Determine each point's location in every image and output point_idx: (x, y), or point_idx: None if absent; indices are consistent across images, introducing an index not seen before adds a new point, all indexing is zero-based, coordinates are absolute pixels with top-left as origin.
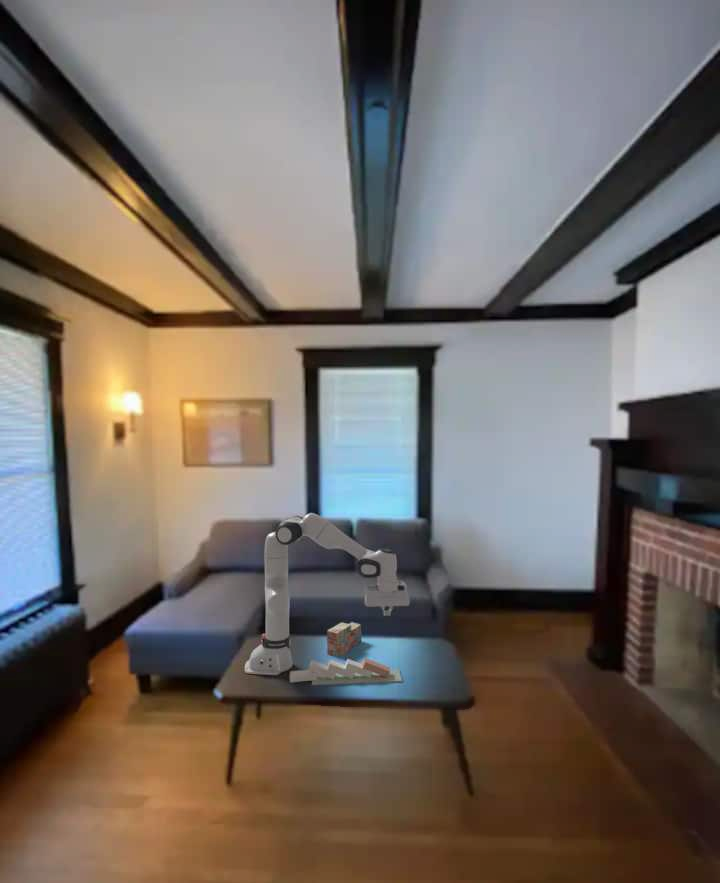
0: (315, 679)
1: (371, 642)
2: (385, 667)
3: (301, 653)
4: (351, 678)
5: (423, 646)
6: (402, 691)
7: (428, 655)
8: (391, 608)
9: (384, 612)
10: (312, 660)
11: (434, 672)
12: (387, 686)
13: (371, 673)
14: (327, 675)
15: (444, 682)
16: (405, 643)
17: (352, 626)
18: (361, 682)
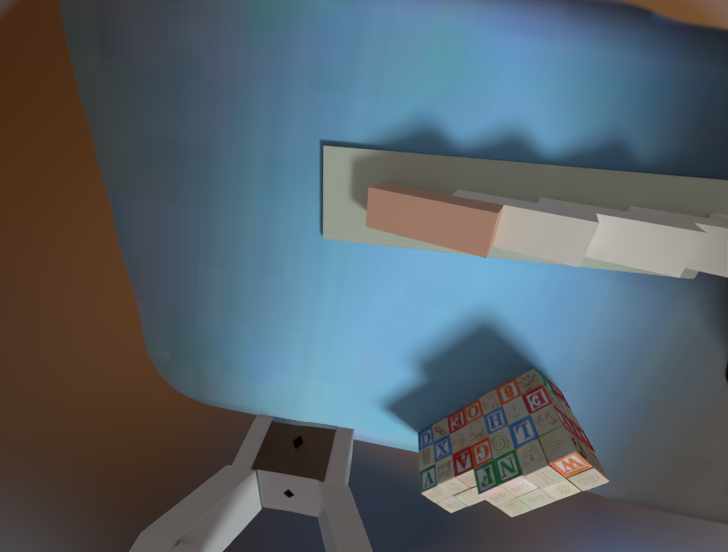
0: (721, 214)
1: (386, 422)
2: (384, 214)
3: (655, 414)
4: (545, 198)
5: (222, 369)
6: (336, 54)
7: (207, 316)
8: (170, 536)
9: (338, 477)
10: None
11: (188, 200)
12: (396, 115)
13: (455, 194)
14: (673, 214)
15: (148, 111)
16: (277, 395)
17: (458, 490)
18: (508, 161)
